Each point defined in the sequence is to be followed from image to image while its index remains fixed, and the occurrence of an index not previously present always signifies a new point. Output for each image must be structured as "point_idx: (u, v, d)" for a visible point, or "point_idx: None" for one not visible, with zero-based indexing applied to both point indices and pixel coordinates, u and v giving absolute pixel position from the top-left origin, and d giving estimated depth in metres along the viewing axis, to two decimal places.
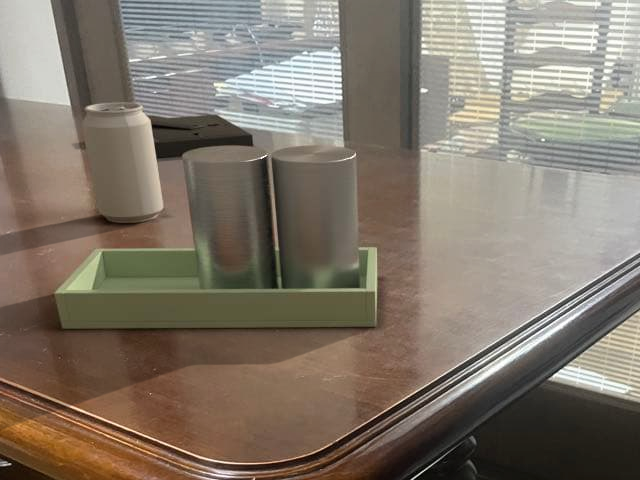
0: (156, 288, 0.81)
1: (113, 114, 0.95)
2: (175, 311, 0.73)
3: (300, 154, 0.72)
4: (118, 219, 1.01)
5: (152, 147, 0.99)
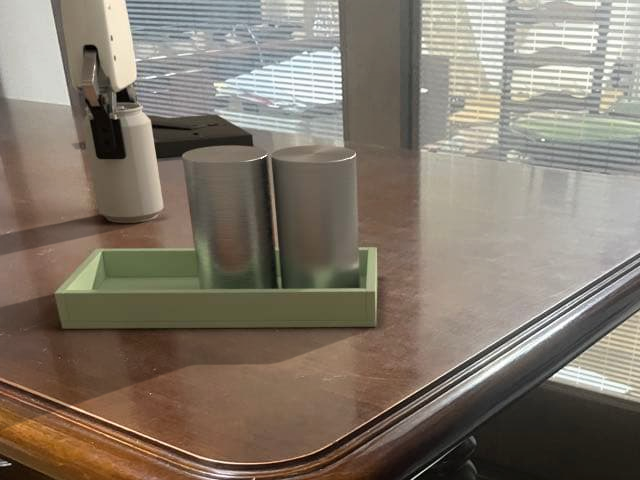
0: (156, 288, 0.81)
1: None
2: (175, 311, 0.73)
3: (300, 154, 0.72)
4: (118, 219, 1.01)
5: (152, 147, 0.99)
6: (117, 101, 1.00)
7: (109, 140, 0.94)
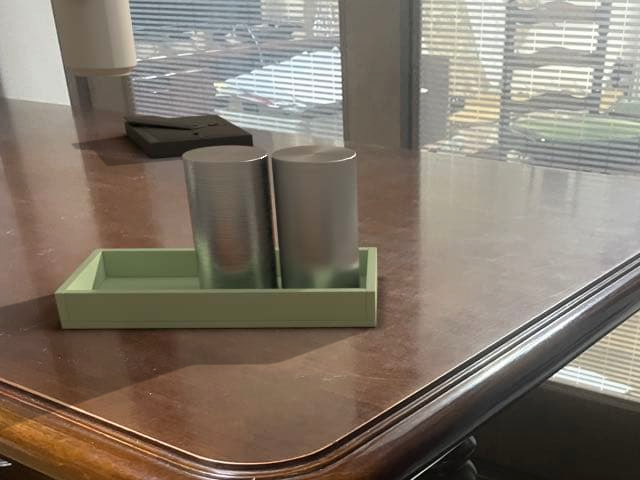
0: (156, 288, 0.81)
1: None
2: (175, 311, 0.73)
3: (300, 154, 0.72)
4: (86, 72, 0.92)
5: None
6: None
7: None
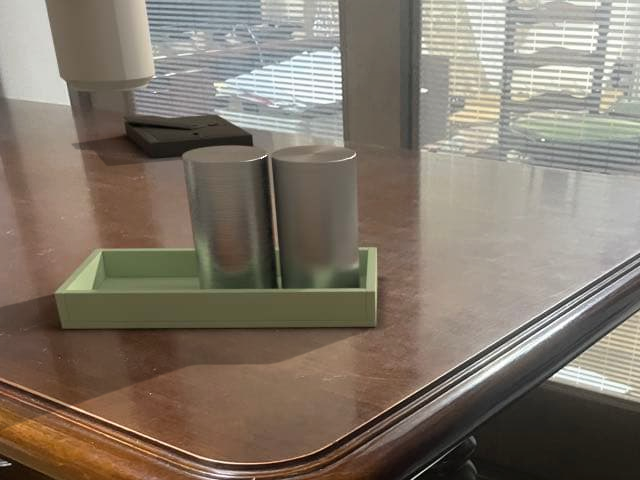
0: (156, 288, 0.81)
1: None
2: (175, 311, 0.73)
3: (300, 154, 0.72)
4: (89, 86, 0.69)
5: None
6: None
7: None
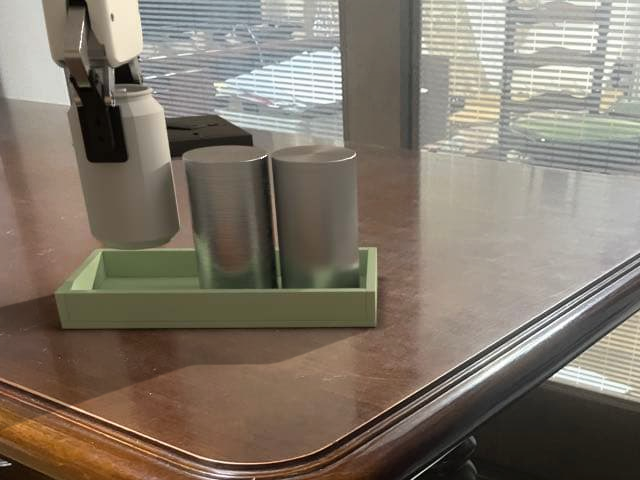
0: (156, 288, 0.81)
1: None
2: (175, 311, 0.73)
3: (300, 154, 0.72)
4: (119, 245, 0.73)
5: (166, 146, 0.72)
6: (116, 82, 0.73)
7: (105, 136, 0.67)
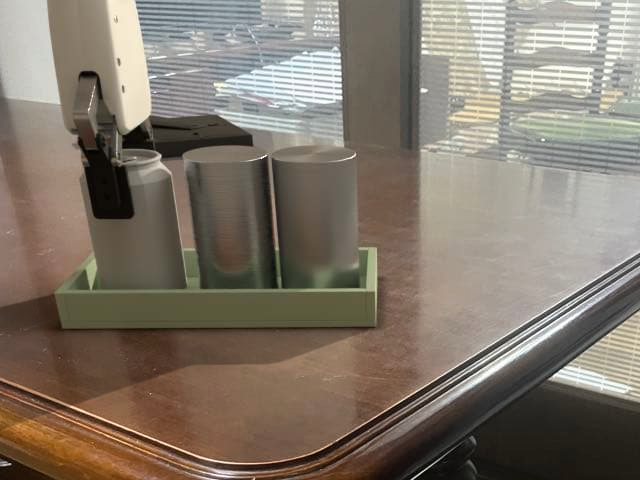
0: None
1: None
2: (175, 311, 0.73)
3: (300, 154, 0.72)
4: None
5: (174, 209, 0.74)
6: (126, 136, 0.76)
7: (111, 194, 0.68)
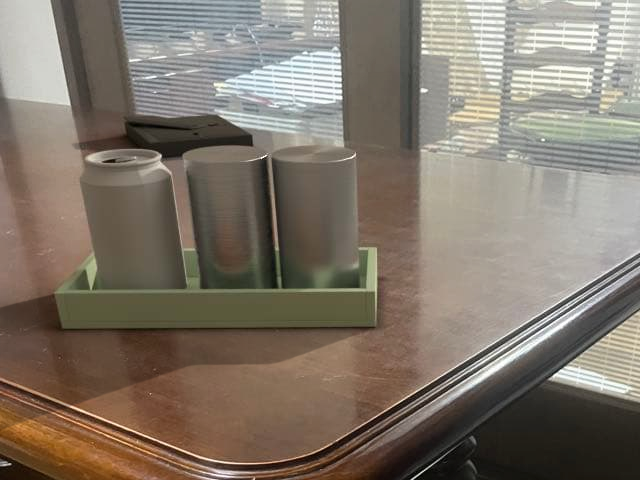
0: None
1: (122, 168, 0.70)
2: (175, 311, 0.73)
3: (300, 154, 0.72)
4: None
5: (174, 209, 0.74)
6: None
7: None
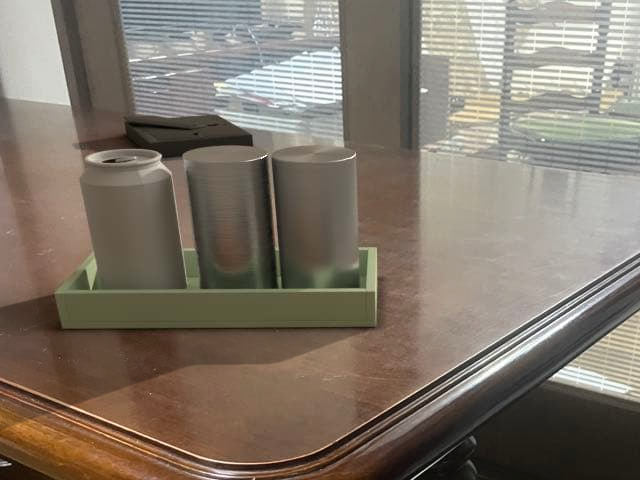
0: None
1: (122, 168, 0.70)
2: (175, 311, 0.73)
3: (300, 154, 0.72)
4: None
5: (174, 209, 0.74)
6: None
7: None
